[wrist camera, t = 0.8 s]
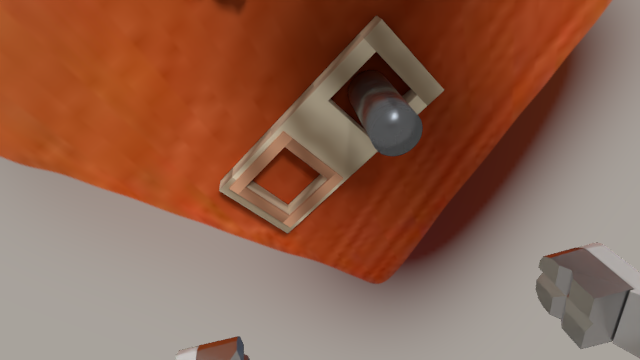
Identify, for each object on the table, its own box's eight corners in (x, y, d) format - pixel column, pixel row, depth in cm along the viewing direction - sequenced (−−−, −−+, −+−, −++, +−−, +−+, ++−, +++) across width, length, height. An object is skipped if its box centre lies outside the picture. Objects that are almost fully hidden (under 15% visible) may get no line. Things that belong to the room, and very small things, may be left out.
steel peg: (370, 61, 39) (400, 97, 31) (397, 89, 41) (432, 130, 33) (339, 92, 41) (360, 135, 32) (366, 118, 43) (393, 165, 35)
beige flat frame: (376, 15, 37) (382, 20, 35) (436, 83, 42) (445, 91, 40) (220, 180, 45) (219, 192, 43) (286, 223, 49) (287, 235, 47)
